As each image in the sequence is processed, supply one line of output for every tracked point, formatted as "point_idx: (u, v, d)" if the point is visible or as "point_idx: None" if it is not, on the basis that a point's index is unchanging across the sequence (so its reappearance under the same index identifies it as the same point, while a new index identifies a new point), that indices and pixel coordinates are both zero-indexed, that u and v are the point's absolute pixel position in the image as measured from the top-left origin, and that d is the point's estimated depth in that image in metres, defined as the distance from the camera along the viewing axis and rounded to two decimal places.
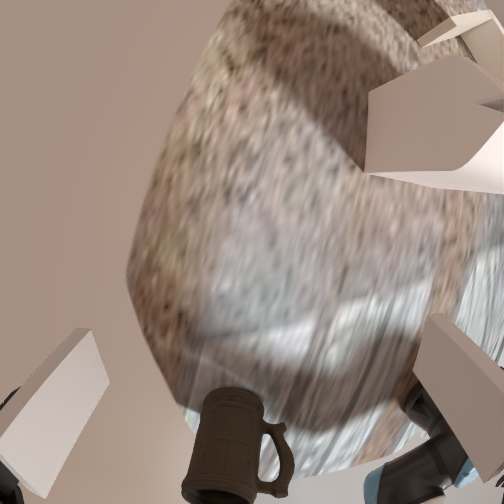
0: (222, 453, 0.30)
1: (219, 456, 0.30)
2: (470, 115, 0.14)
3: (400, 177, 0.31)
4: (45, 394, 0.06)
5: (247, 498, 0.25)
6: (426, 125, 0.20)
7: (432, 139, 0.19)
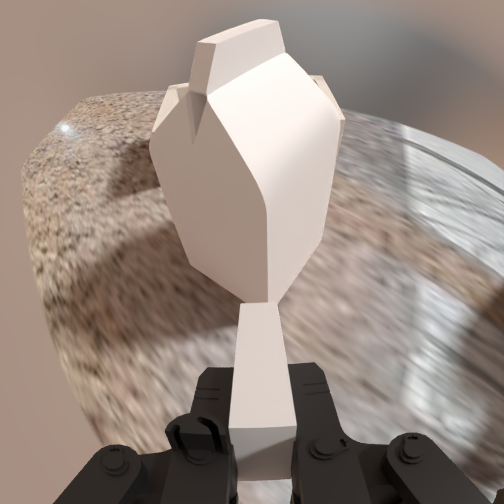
0: None
1: None
2: (205, 155, 0.16)
3: (286, 278, 0.29)
4: None
5: None
6: (218, 220, 0.21)
7: (232, 221, 0.20)
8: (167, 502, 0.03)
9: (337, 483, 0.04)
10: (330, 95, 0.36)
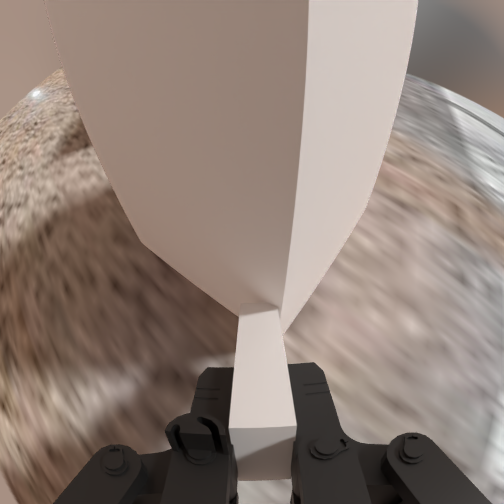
0: None
1: None
2: None
3: (319, 265, 0.14)
4: None
5: None
6: (143, 65, 0.05)
7: (173, 33, 0.04)
8: (167, 502, 0.03)
9: (337, 483, 0.04)
10: None
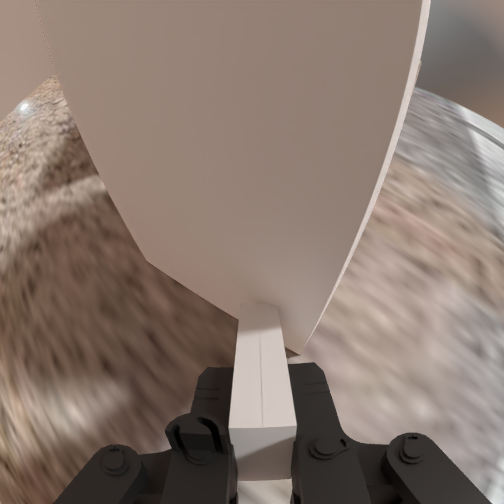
0: None
1: None
2: None
3: (341, 275, 0.13)
4: None
5: None
6: (173, 74, 0.05)
7: (225, 37, 0.04)
8: (167, 502, 0.03)
9: (336, 483, 0.04)
10: None
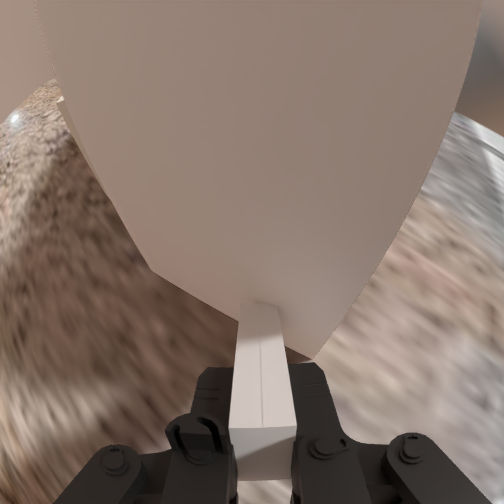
0: None
1: None
2: None
3: None
4: None
5: None
6: (199, 80, 0.05)
7: (264, 42, 0.03)
8: (167, 502, 0.03)
9: (337, 483, 0.04)
10: None
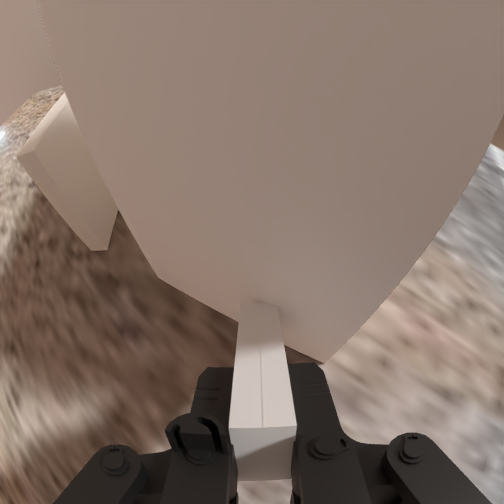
0: None
1: None
2: None
3: None
4: None
5: None
6: (231, 86, 0.04)
7: (310, 51, 0.03)
8: (167, 502, 0.03)
9: (337, 483, 0.04)
10: None
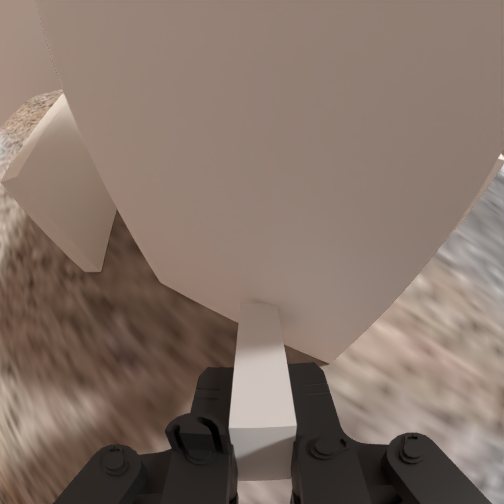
0: None
1: None
2: None
3: None
4: None
5: None
6: (244, 90, 0.04)
7: (329, 57, 0.03)
8: (167, 502, 0.03)
9: (337, 483, 0.04)
10: None
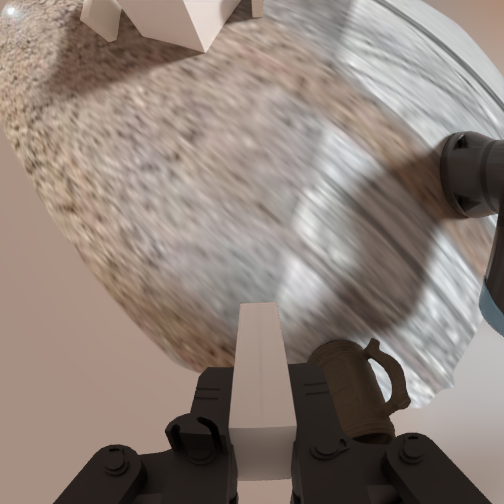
0: None
1: None
2: None
3: (212, 23, 0.29)
4: None
5: (372, 431, 0.27)
6: None
7: None
8: (167, 502, 0.03)
9: (337, 482, 0.04)
10: None
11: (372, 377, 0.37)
